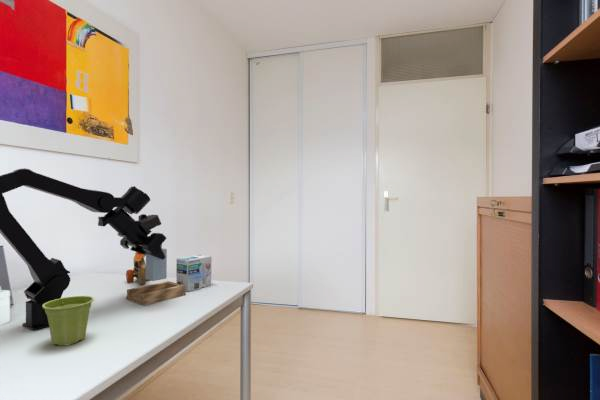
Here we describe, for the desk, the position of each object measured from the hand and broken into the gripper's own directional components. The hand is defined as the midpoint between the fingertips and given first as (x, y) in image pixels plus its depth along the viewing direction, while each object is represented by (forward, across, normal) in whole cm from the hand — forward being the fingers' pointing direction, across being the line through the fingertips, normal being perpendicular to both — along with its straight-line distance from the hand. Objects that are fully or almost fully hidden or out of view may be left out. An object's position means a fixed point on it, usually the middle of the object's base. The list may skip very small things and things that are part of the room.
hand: (160, 257), depth 109 cm
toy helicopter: (+12, +20, +6) cm, 24 cm away
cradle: (+8, 0, +10) cm, 12 cm away
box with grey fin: (+4, 0, +6) cm, 7 cm away
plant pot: (-12, -16, +31) cm, 37 cm away
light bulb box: (+18, +1, 0) cm, 18 cm away
